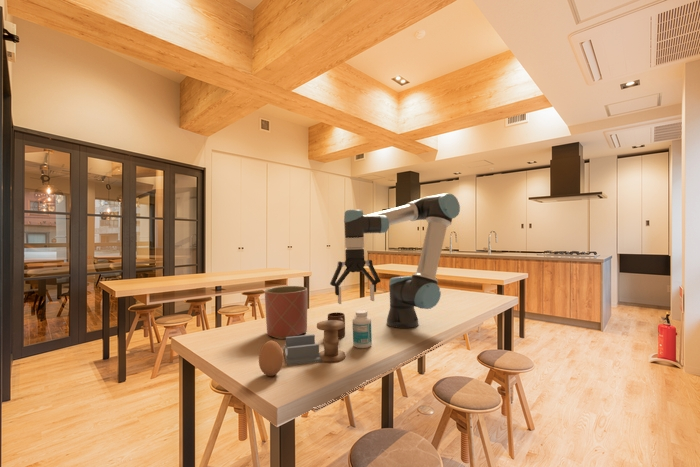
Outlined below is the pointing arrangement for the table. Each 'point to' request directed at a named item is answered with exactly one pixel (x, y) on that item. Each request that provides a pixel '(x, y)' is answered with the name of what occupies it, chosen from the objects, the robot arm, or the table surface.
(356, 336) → the pill bottle
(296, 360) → the card holder
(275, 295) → the planter
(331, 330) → the bobbin
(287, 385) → the table surface
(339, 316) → the mug
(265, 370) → the egg
